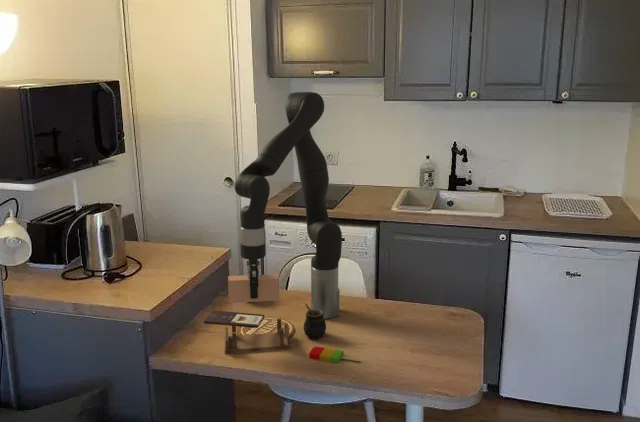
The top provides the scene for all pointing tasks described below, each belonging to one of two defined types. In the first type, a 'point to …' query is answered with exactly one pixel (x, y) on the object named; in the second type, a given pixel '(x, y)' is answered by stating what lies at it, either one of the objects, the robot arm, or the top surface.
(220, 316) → the chocolate bar
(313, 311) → the mate gourd
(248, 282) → the tan rectangular block
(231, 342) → the rack
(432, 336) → the top surface
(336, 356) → the popsicle
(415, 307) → the top surface
